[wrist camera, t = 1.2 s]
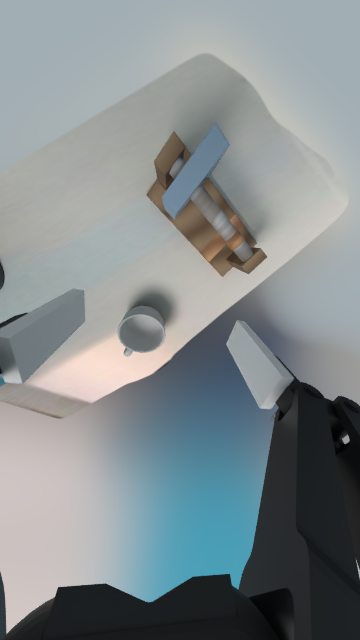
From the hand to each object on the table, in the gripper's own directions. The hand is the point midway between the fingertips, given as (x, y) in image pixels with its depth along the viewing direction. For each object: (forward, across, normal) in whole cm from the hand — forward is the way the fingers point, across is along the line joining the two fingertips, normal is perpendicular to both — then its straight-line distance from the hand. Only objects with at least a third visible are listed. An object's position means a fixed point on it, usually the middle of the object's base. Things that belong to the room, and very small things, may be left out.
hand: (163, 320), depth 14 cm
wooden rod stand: (+27, +6, +11) cm, 30 cm away
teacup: (+27, -4, -16) cm, 32 cm away
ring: (+23, +1, +14) cm, 27 cm away
